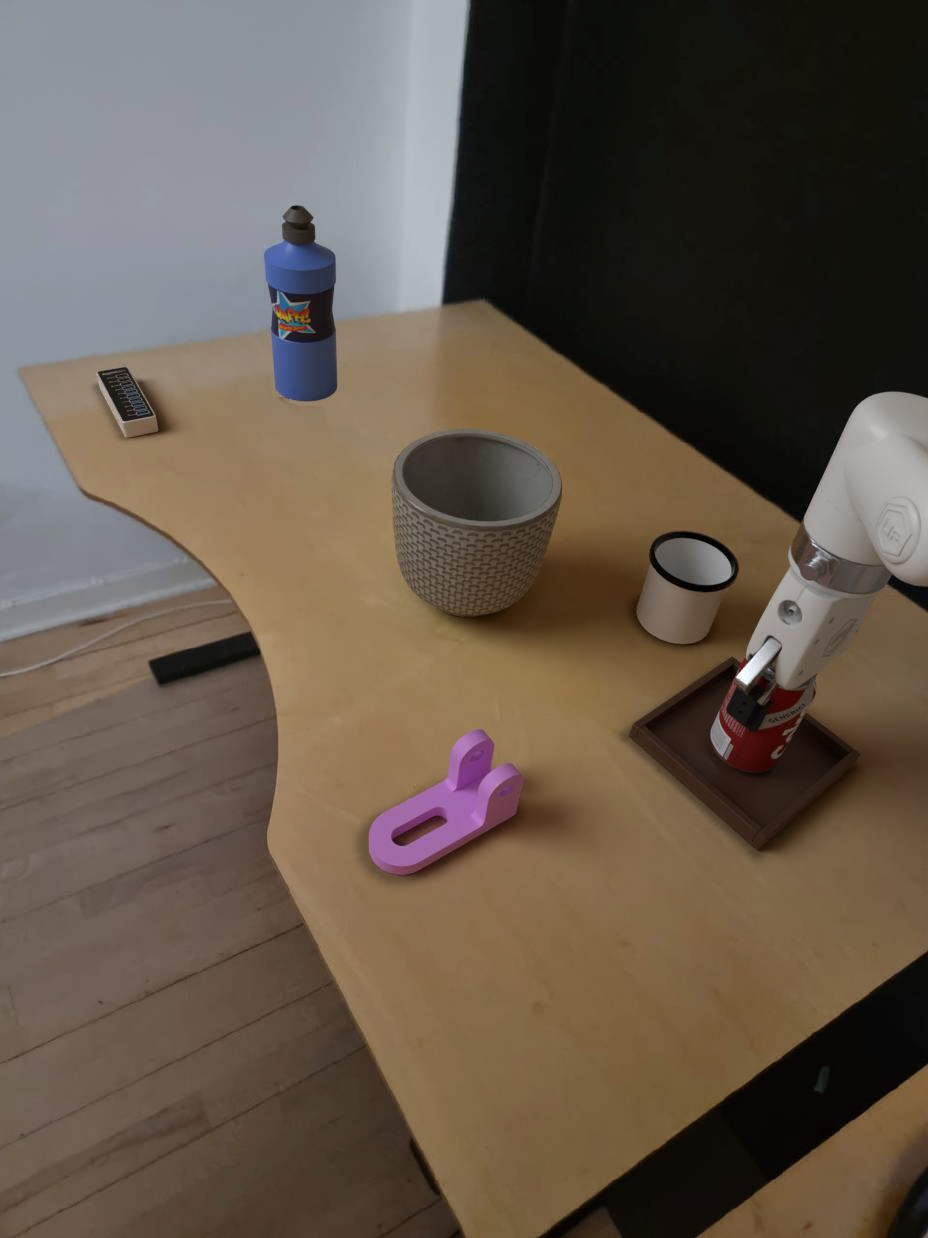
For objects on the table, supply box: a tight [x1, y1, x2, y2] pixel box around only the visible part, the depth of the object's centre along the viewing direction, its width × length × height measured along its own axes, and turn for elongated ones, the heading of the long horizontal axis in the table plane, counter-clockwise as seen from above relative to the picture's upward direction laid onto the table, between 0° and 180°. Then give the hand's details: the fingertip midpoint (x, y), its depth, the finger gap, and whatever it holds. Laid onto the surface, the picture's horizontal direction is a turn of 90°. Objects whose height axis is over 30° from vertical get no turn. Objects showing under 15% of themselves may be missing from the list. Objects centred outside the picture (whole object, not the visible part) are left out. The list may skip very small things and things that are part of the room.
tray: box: [628, 656, 861, 852], centre depth 82 cm, size 16×16×2 cm
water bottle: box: [263, 204, 338, 403], centre depth 116 cm, size 9×9×25 cm
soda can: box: [710, 657, 818, 773], centre depth 78 cm, size 7×7×12 cm
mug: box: [635, 530, 740, 645], centre depth 93 cm, size 12×10×9 cm
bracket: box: [368, 728, 525, 876], centre depth 71 cm, size 13×6×7 cm, turn 125°
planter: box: [390, 428, 563, 618], centre depth 90 cm, size 17×17×16 cm
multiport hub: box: [95, 366, 159, 438], centre depth 116 cm, size 4×14×2 cm, turn 30°
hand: (766, 701), depth 77 cm, fingers closed on soda can, 6 cm apart
